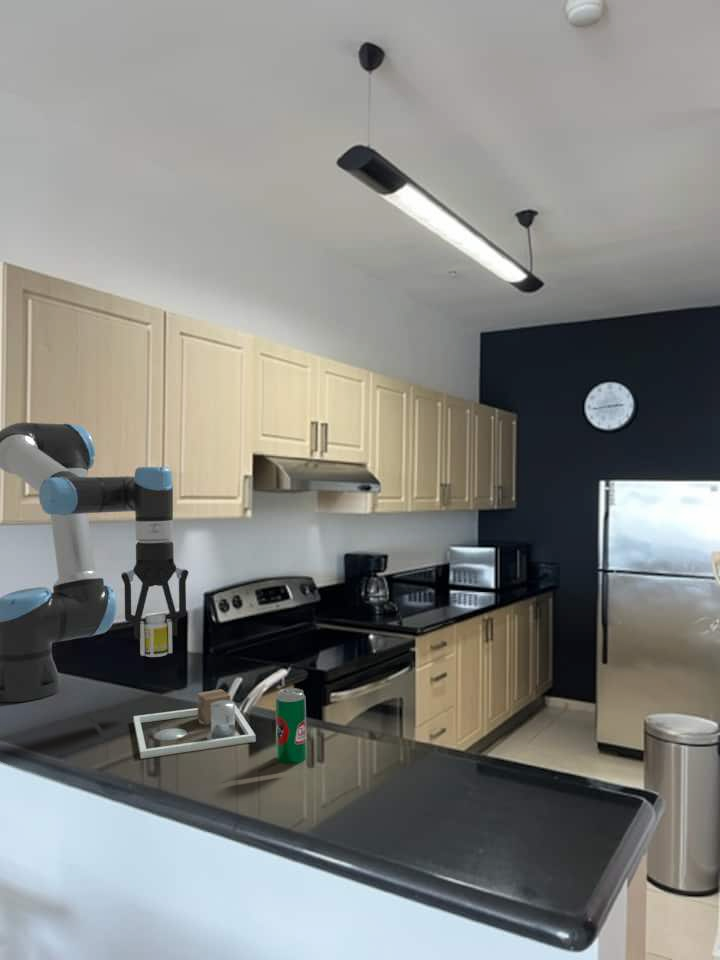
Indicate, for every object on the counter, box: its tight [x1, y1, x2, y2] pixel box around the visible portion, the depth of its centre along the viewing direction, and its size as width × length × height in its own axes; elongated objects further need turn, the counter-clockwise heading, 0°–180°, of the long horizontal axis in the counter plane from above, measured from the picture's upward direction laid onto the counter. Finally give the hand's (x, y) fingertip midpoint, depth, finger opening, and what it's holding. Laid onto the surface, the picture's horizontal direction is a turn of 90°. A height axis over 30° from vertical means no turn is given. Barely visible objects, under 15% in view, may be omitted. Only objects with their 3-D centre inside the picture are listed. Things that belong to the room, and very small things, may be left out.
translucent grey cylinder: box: [210, 699, 236, 739], centre depth 132 cm, size 4×4×6 cm
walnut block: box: [197, 688, 231, 726], centre depth 142 cm, size 5×5×5 cm
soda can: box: [275, 687, 308, 765], centre depth 122 cm, size 5×5×12 cm
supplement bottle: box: [144, 612, 169, 658], centre depth 148 cm, size 5×5×8 cm
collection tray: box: [133, 704, 257, 760], centre depth 135 cm, size 20×20×2 cm
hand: (156, 652), depth 148 cm, fingers closed on supplement bottle, 5 cm apart
